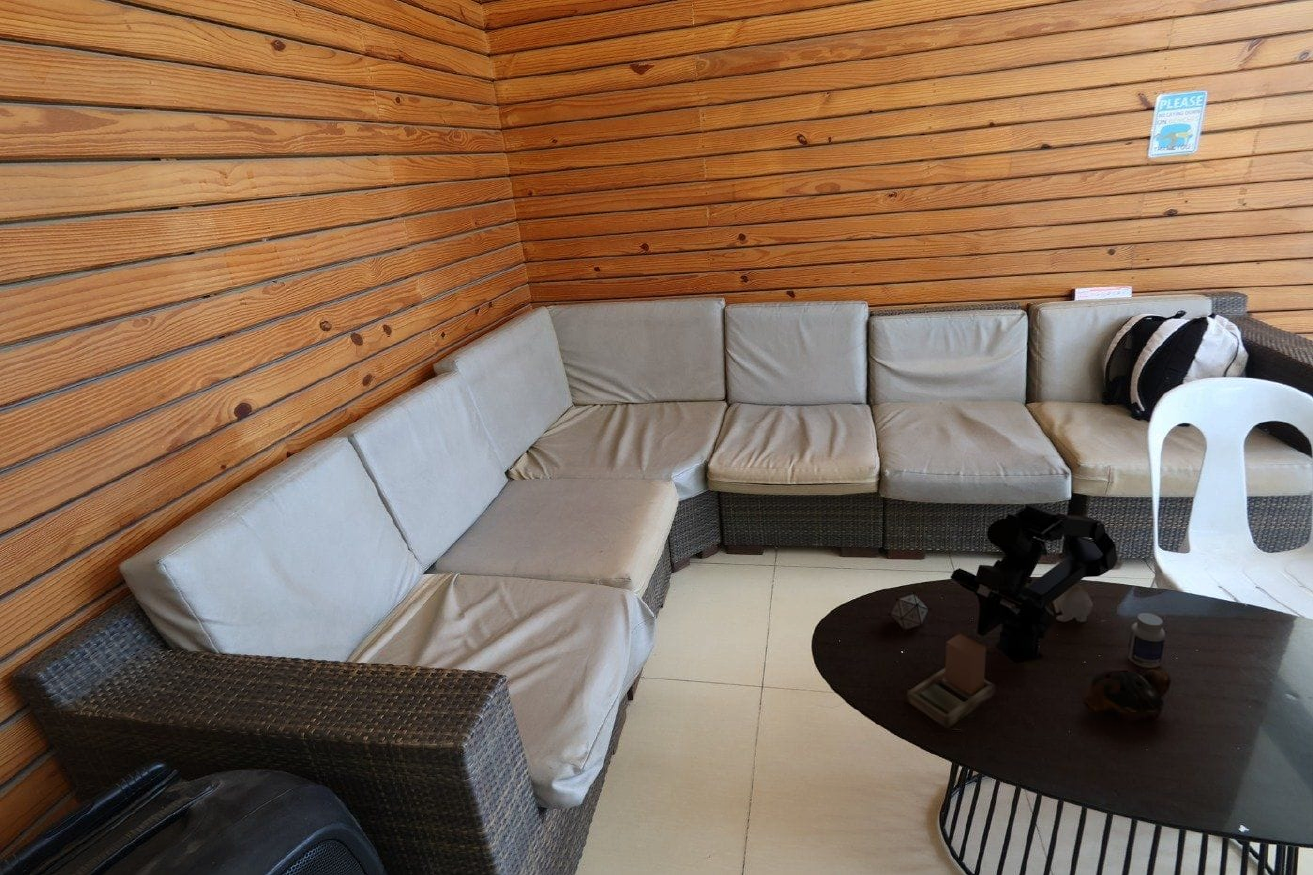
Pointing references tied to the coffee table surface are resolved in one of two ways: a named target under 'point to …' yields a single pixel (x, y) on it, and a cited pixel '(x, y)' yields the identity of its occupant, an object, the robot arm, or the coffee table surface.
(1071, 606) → the white bear figurine
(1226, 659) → the coffee table surface
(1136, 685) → the decorative turtle
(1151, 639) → the pill bottle
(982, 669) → the terracotta block
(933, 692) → the box
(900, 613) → the game die
